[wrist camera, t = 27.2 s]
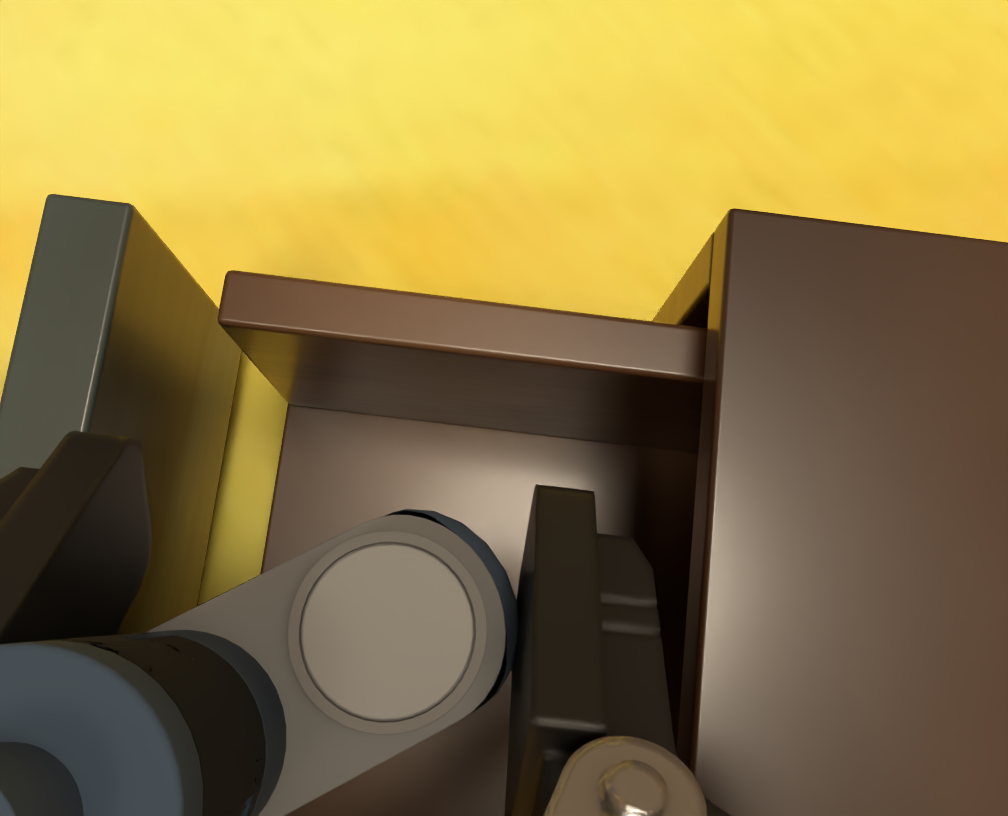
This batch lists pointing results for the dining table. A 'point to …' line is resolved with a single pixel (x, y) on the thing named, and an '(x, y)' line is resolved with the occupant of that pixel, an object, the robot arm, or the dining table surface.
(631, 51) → the dining table surface
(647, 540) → the drawer
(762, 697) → the cabinet
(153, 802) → the vaping device
